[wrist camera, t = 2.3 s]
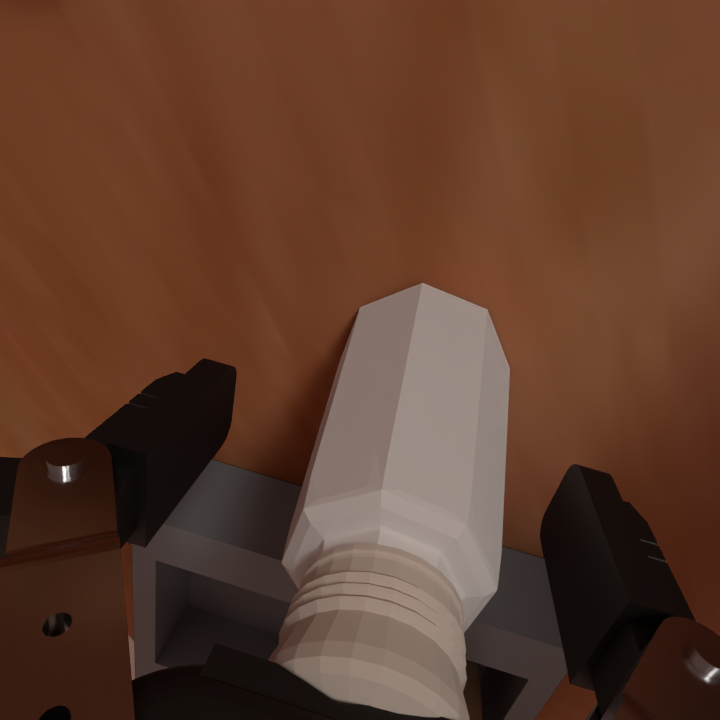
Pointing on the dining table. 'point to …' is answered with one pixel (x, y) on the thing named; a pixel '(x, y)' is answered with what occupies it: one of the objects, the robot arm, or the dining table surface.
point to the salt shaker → (401, 508)
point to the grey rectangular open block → (276, 591)
